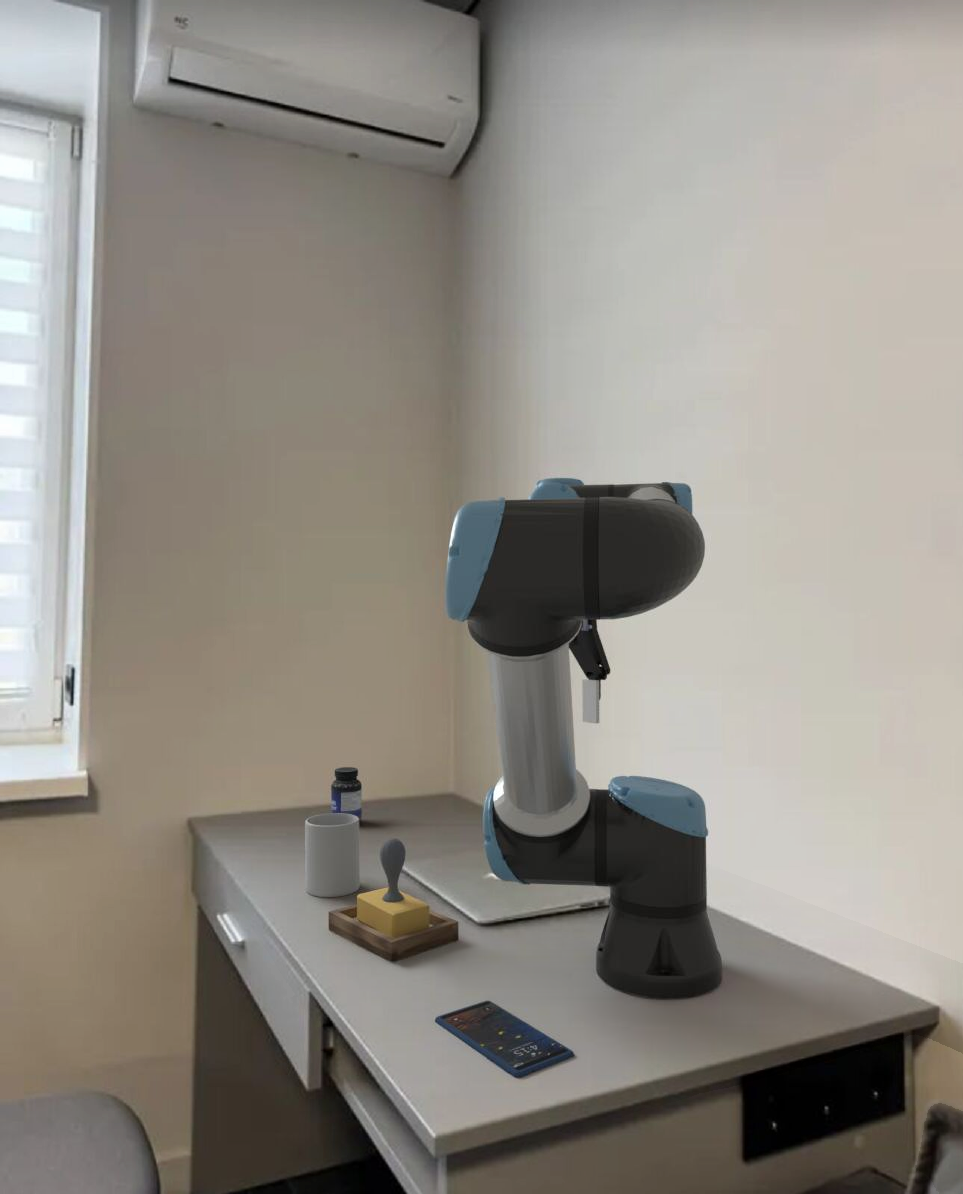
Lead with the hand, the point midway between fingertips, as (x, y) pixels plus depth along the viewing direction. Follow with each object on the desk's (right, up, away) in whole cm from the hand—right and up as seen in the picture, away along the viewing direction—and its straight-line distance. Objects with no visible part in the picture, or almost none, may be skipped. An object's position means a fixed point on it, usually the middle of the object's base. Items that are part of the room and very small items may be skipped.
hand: (561, 727), depth 137 cm
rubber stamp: (-24, -26, -11) cm, 37 cm away
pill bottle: (-39, -27, +50) cm, 69 cm away
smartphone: (-10, -28, -40) cm, 49 cm away
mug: (-36, -27, +11) cm, 46 cm away
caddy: (-24, -27, -11) cm, 38 cm away
